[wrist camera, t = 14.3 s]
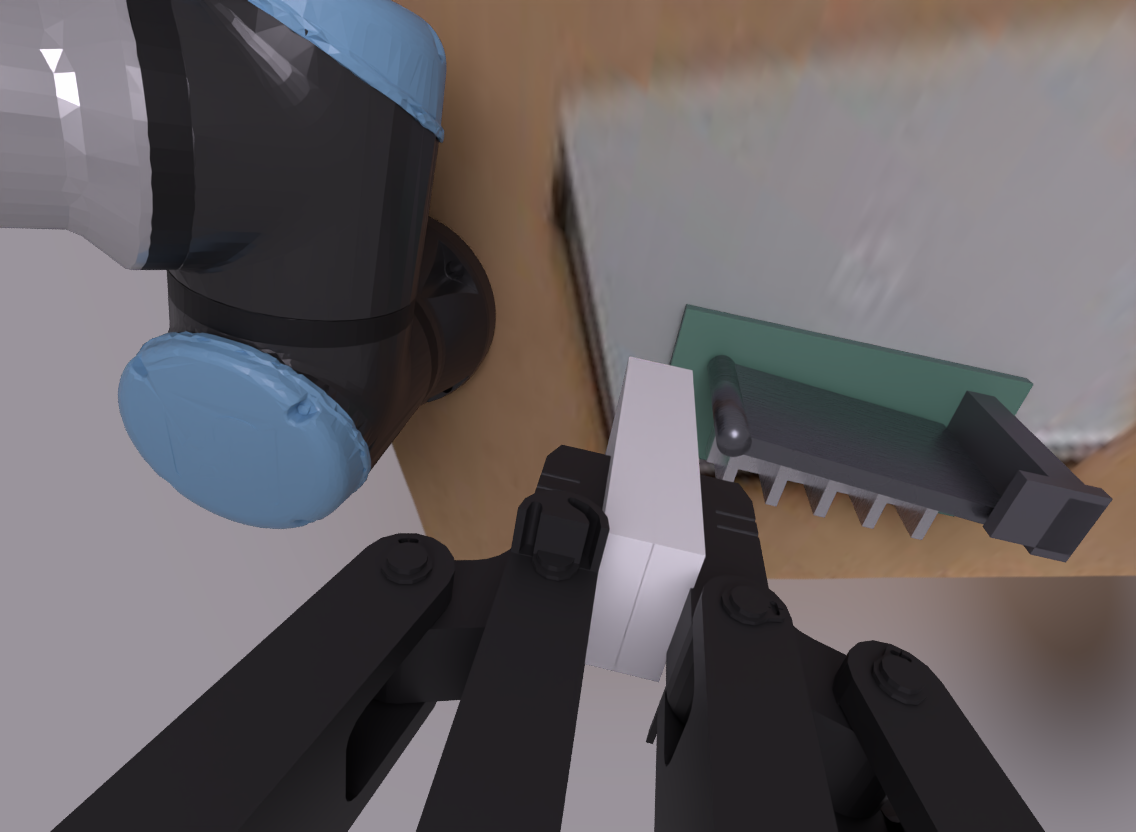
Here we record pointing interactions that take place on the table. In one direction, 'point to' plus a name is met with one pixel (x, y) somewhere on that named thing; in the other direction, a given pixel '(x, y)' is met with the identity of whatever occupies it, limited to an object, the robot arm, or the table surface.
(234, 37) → the robot arm
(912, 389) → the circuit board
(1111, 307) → the table surface
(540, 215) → the table surface
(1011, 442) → the dark grey capped post
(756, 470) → the heat sink
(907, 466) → the dark grey rectangular panel
